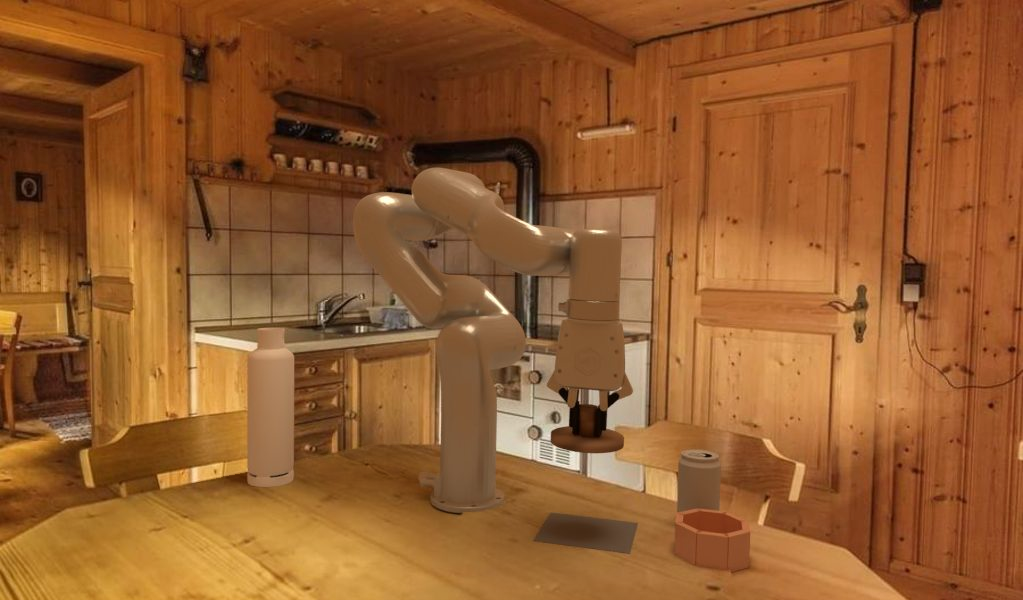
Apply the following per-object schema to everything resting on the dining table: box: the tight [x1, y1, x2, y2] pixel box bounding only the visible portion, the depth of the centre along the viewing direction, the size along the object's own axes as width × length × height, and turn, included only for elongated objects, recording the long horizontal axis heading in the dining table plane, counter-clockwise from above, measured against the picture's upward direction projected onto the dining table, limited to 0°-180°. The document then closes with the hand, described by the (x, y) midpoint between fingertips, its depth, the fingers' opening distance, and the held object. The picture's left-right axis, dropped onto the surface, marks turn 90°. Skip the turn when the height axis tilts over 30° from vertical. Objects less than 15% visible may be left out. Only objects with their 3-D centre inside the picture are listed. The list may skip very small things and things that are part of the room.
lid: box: [549, 403, 625, 454], centre depth 104 cm, size 11×11×6 cm
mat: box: [532, 512, 639, 555], centre depth 105 cm, size 14×12×1 cm
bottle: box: [246, 327, 295, 488], centre depth 127 cm, size 8×8×28 cm
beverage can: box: [676, 449, 722, 513], centre depth 108 cm, size 6×6×12 cm
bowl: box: [673, 508, 751, 573], centre depth 98 cm, size 10×10×5 cm
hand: (587, 432), depth 104 cm, fingers closed on lid, 2 cm apart
